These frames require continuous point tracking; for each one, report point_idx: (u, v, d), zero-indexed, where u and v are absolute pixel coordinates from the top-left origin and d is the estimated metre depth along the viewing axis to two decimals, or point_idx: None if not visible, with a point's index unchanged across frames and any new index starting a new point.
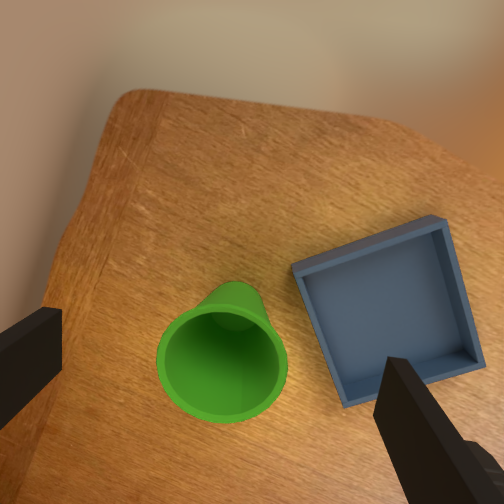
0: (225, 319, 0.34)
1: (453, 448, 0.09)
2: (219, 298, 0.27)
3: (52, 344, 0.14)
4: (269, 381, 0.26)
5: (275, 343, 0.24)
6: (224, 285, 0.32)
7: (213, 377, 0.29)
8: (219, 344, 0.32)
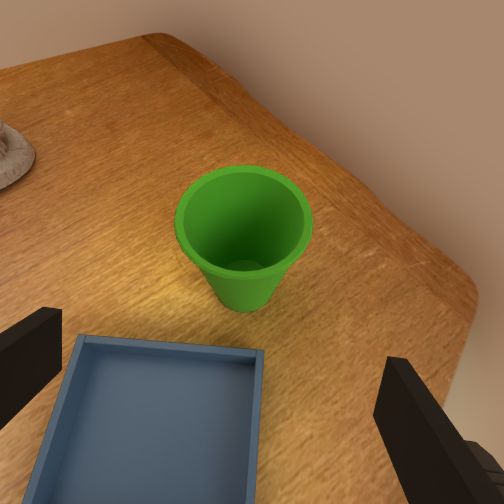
0: (237, 269, 0.33)
1: (453, 448, 0.09)
2: None
3: (52, 344, 0.14)
4: None
5: (243, 272, 0.21)
6: None
7: (213, 217, 0.28)
8: (224, 247, 0.31)
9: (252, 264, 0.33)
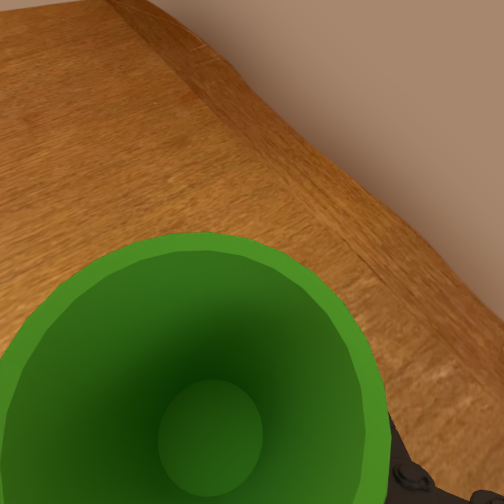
0: (200, 400, 0.17)
1: None
2: None
3: None
4: None
5: None
6: None
7: (141, 335, 0.12)
8: (174, 369, 0.16)
9: (229, 390, 0.18)
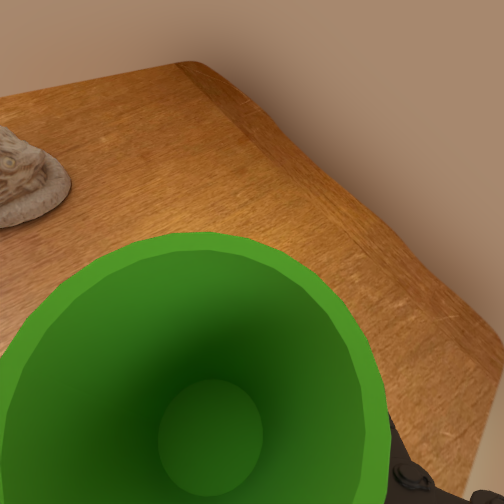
0: (200, 400, 0.17)
1: None
2: None
3: None
4: (41, 503, 0.08)
5: None
6: None
7: (141, 334, 0.12)
8: (174, 369, 0.16)
9: (229, 390, 0.18)
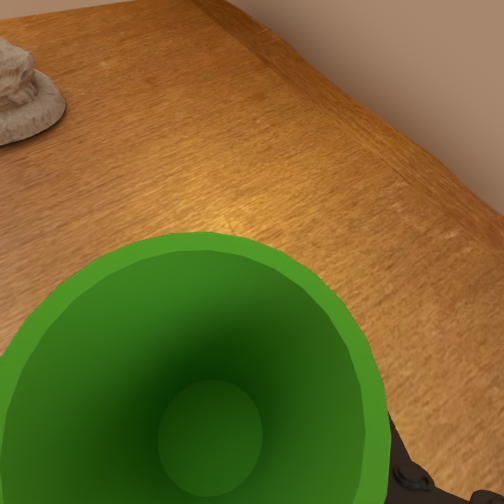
0: (200, 400, 0.17)
1: None
2: None
3: None
4: None
5: None
6: None
7: (141, 334, 0.12)
8: (174, 369, 0.16)
9: (229, 390, 0.18)
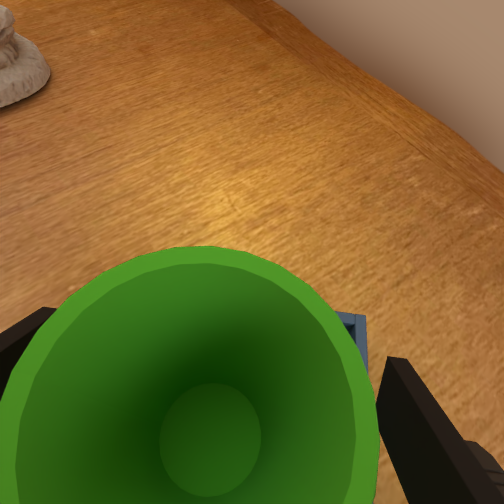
0: (200, 403, 0.18)
1: (453, 448, 0.09)
2: None
3: None
4: None
5: None
6: None
7: (144, 341, 0.13)
8: (175, 373, 0.16)
9: (229, 394, 0.18)
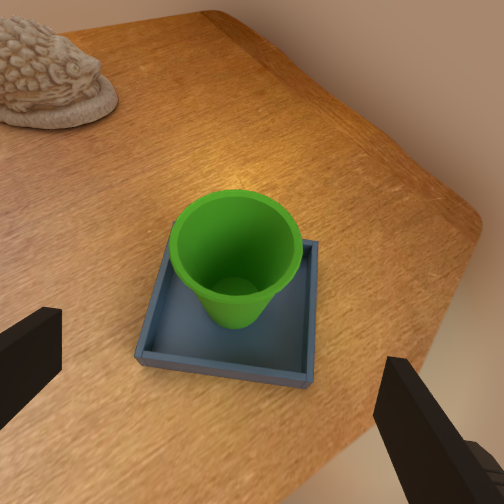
0: (228, 286, 0.33)
1: (453, 448, 0.09)
2: None
3: (52, 344, 0.14)
4: None
5: (232, 297, 0.22)
6: None
7: (207, 237, 0.28)
8: (217, 264, 0.32)
9: (243, 282, 0.34)
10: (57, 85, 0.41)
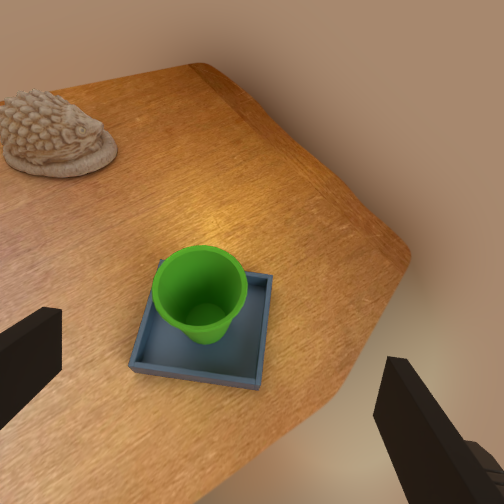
0: (202, 310, 0.43)
1: (453, 448, 0.09)
2: None
3: (52, 344, 0.14)
4: (165, 309, 0.34)
5: (194, 327, 0.32)
6: None
7: (183, 277, 0.38)
8: (192, 295, 0.41)
9: (213, 307, 0.44)
10: (68, 144, 0.51)
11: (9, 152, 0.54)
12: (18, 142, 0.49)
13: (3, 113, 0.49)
